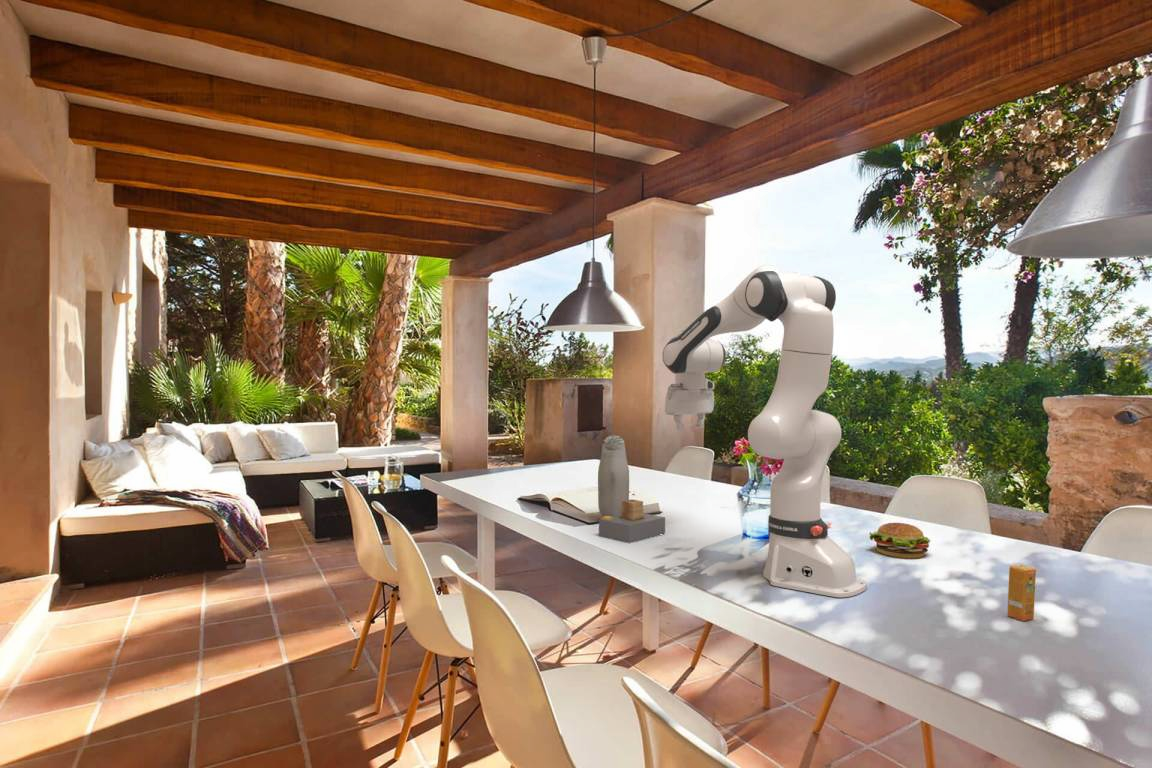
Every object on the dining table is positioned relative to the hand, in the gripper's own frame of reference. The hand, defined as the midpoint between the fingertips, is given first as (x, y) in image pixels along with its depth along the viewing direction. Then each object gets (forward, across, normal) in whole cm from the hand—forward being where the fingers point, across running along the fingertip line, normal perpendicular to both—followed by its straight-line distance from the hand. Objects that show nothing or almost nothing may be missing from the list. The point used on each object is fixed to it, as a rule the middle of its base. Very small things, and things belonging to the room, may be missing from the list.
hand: (689, 429), depth 199 cm
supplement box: (+31, -12, -88) cm, 94 cm away
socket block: (+31, -16, +9) cm, 36 cm away
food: (+31, +21, -53) cm, 65 cm away
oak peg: (+30, -16, +9) cm, 35 cm away
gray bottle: (+31, -6, +26) cm, 41 cm away
